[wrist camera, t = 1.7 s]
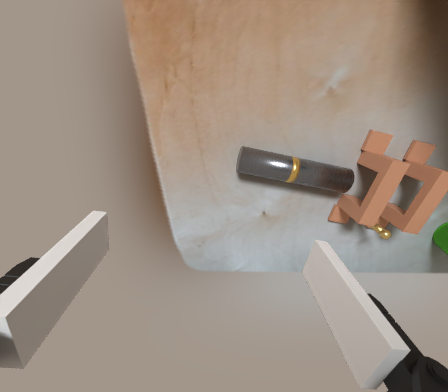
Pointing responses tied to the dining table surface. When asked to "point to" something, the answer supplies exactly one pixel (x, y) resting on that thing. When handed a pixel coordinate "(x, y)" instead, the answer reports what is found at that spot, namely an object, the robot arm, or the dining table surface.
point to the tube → (294, 170)
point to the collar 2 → (426, 197)
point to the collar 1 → (380, 188)
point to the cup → (442, 237)
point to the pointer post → (381, 231)
